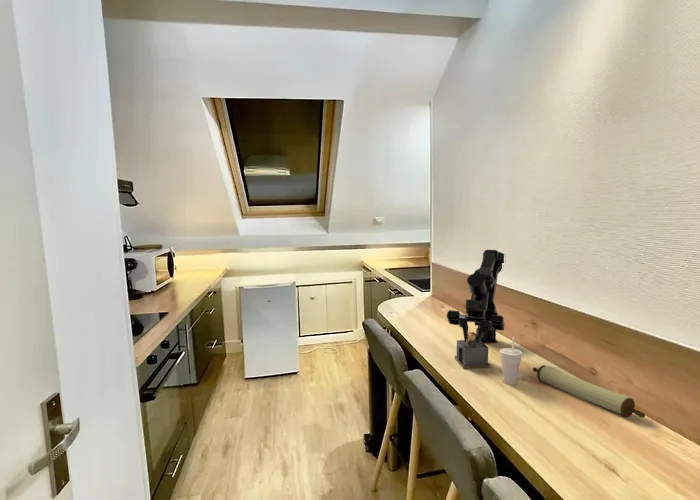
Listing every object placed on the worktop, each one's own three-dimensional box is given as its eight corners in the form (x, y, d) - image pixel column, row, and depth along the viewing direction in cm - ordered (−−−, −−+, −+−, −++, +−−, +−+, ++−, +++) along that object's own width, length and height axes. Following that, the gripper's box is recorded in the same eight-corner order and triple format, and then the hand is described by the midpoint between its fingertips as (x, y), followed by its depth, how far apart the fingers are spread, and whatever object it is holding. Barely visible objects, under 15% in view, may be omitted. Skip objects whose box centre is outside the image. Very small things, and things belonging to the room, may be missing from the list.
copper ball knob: (477, 355, 141) (477, 329, 140) (483, 362, 135) (483, 334, 134) (460, 356, 140) (460, 330, 139) (466, 362, 135) (466, 335, 134)
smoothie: (523, 387, 119) (525, 341, 117) (500, 386, 120) (501, 340, 118) (519, 378, 125) (520, 334, 123) (497, 377, 126) (498, 333, 125)
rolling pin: (526, 378, 126) (526, 362, 125) (538, 374, 128) (539, 359, 128) (637, 427, 97) (638, 407, 96) (651, 421, 99) (652, 402, 99)
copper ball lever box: (479, 357, 143) (480, 338, 142) (490, 367, 134) (490, 347, 133) (453, 358, 142) (453, 339, 141) (462, 368, 133) (462, 348, 132)
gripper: (448, 287, 143) (438, 326, 135) (503, 292, 134) (497, 333, 126) (453, 304, 151) (445, 342, 142) (507, 310, 142) (501, 350, 133)
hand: (471, 341), depth 136 cm, fingers closed on copper ball knob, 4 cm apart
